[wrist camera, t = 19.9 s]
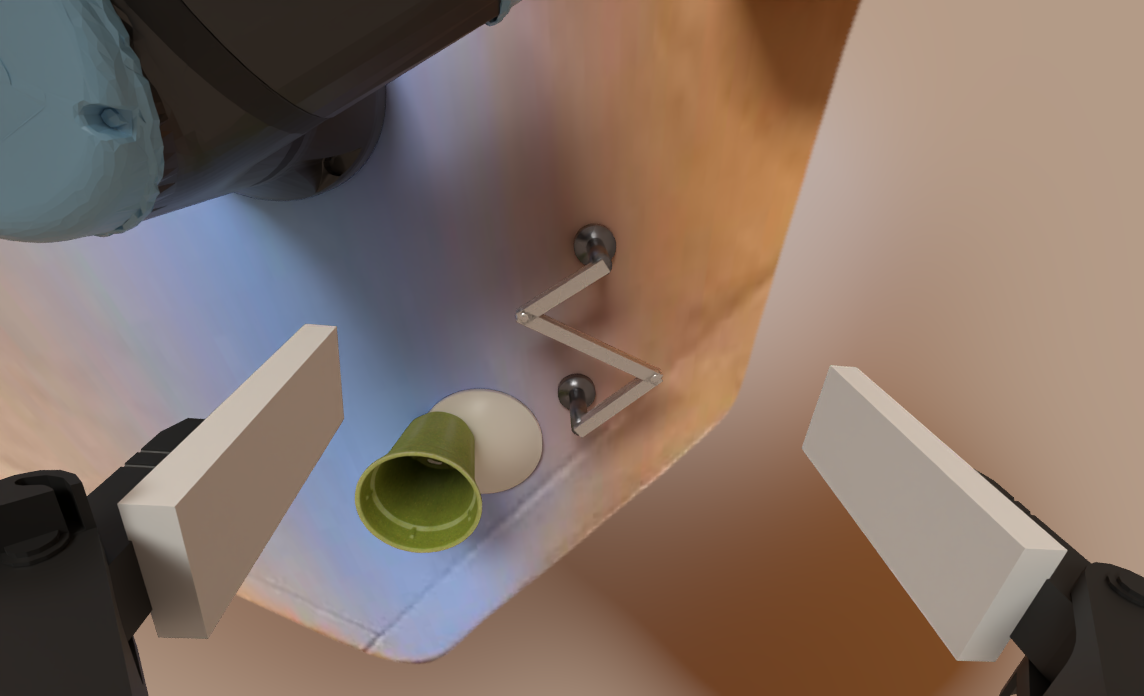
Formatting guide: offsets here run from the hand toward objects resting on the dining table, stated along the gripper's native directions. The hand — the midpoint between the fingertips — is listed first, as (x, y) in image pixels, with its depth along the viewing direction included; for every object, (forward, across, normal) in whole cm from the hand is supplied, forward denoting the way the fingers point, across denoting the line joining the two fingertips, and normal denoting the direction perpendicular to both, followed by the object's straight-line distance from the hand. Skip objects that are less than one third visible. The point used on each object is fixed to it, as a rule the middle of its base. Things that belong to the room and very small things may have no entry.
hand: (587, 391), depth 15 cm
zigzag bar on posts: (+29, +3, -9) cm, 30 cm away
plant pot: (+28, -9, -22) cm, 37 cm away
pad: (+29, -5, -22) cm, 36 cm away
